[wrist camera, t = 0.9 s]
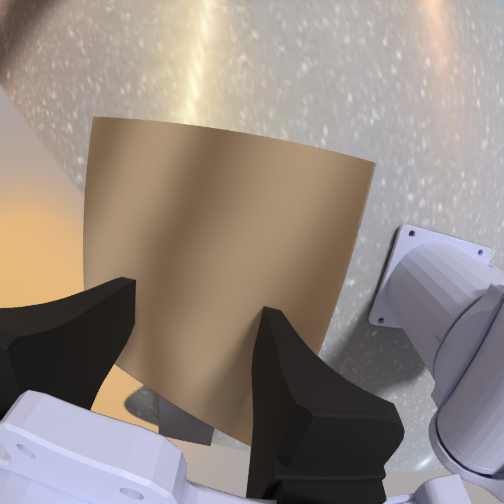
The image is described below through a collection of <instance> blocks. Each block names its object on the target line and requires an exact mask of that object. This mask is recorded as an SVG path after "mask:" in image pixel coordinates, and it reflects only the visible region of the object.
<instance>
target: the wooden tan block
mask: <svg viewBox="0 0 504 504" xmlns="http://www.w3.org/2000/svg"><path fill="white" fill-rule="evenodd" d="M375 166H376V163H374V162H371V161H367V160H363V159H360V158H356V157H352V156H348V155H344V154H341V153H337V152H333V151H328V150H324V149H320V148H316V147H311V146H307V145H302V144H298V143H293V142H288V141H284V140H279V139H274V138H268V137H263V136H258V135H252V134H247V133H241V132H235V131H229V130H222V129H215V128H209V127H201V126H194V125H186V124H178V123H169V122H159V121H149V120H138V119H125V118H109V117H93V123H92V130H91V137H90V145H89V154H88V163H87V174H86V187H85V203H84V228H83V230H84V231H83V270H84V272H83V273H84V291H86V290H88V289H91V288H93V287H96V286H98V285H101V284H103V283H105V282H108V281H110V280H113V279H116V278H119V277H126V278H130V279H134V280H136V302H135V325H134V328H133V330H132V333H131V335H130V337H129V339H128V342H127V344H126V345H125V347H124V349H123V350H122V352H121V354H120V355H119V357H118V359H117V360H116V362H115V363H114V364H115V365H117V366H118V367H119V368H121V369H122V370H124V371H125V372H127V373H128V374H129V375H131V376H132V377H133V378H135V379H136V380H138V381H139V382H141V383H142V384H144V385H145V386H147V387H148V388H150V389H151V390H153V391H154V392H156V393H157V394H159V395H160V396H162V397H163V398H165V399H167V400H168V401H170V402H171V403H173V404H175V405H176V406H178V407H179V408H181V409H183V410H184V411H186V412H188V413H189V414H191V415H193V416H195V417H196V418H198V419H200V420H201V421H203V422H205V423H207V424H209V425H210V426H212V427H214V428H216V429H218V430H220V431H221V432H223V433H225V434H227V435H229V436H231V437H233V438H235V439H237V440H239V441H241V442H243V443H245V444H247V445H249V446H251V444H252V431H253V400H252V374H251V368H252V358H253V349H254V345H255V341H256V337H257V333H258V329H259V325H260V321H261V316H262V312H263V308H264V306H266V307H270V308H274V309H278V310H281V311H282V312H283V314H284V315H285V316H286V318H287V319H288V321H289V322H290V324H291V325H292V327H293V328H294V329H295V331H296V332H297V333H298V335H299V336H300V337H301V339H302V340H303V341H304V342H305V343H306V344H307V346H308V347H309V348H310V349H311V350H312V351H313V352H314V353H315V354H316V355H317V356H318V355H319V352H320V349H321V346H322V344H323V341H324V338H325V335H326V333H327V330H328V327H329V324H330V321H331V318H332V316H333V313H334V310H335V307H336V304H337V301H338V298H339V295H340V292H341V289H342V285H343V282H344V279H345V276H346V273H347V270H348V266H349V263H350V260H351V256H352V253H353V250H354V246H355V243H356V239H357V236H358V232H359V229H360V225H361V221H362V218H363V214H364V210H365V206H366V203H367V199H368V195H369V191H370V187H371V183H372V178H373V174H374V170H375Z"/></svg>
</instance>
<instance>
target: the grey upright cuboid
mask: <svg viewBox="0 0 504 504" xmlns="http://www.w3.org/2000/svg"><path fill="white" fill-rule="evenodd" d="M213 430H214V427H212V426H210V425H209V424H207V423H205V422H203V421H201V420H200V419H198V418H196V417H195V416H193V415H191V414H189V413H188V412H186V411H184V410H183V409H181V408H179V407H178V406H176V405H175V404H173V403H171V402H170V401H168V400H167V399H165V398H163V397H162V396H160V395H159V434H161V435H163V436H165V437H169V438H174V439H178V440H182V441H187V442H192V443H197V444H202V445H208V446H210V445H211V440H212V435H213Z"/></svg>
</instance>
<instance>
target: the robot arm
mask: <svg viewBox="0 0 504 504" xmlns="http://www.w3.org/2000/svg"><path fill="white" fill-rule="evenodd" d="M411 230H413V234H412V235H411V236H409V232H410V231H411ZM479 250H480V253H479V254H478V252H479ZM491 257H492V250H491V249H489V248H487V247H484V246H481V245H477V244H474V243H471V242H467V241H464V240H461V239H457V238H454V237H451V236H447V235H444V234H440V233H437V232H433V231H429V230H426V229H422V228H419V227H415V226H411V225H407V224H403V225H401V226H400V227H399V229H398V233H397V236H396V239H395V242H394V246H393V249H392V252H391V255H390V258H389V261H388V264H387V267H386V270H385V273H384V276H383V279H382V282H381V285H380V288H379V290H378V293H377V296H376V299H375V301H374V304H373V307H372V309H371V312H370V315H369V318H368V319H369V322H370V323H371V324H372V325H377V326H385V327H393V328H401V329H403V330H404V332H405V333H406V335H407V336H408V338H409V340H410V341H411V343H412V344H413V346H414V348H415V349H416V351H417V352H418V354H419V356H420V357H421V359H422V360H423V362H424V364H425V365H426V367H427V369H428V370H429V372H430V374H431V375H432V377H433V379H434V380H435V387H434V390H433V392H432V394H431V397H432V398H433V400H434V402H435V404H436V406H437V408H438V410H437V411H436V413H435V414H434V416H433V417H432V419H431V421H430V424H429V439H430V443H431V446H432V448H433V451H434V453H435V454H436V456H437V458H438V459H439V461H440V462H441V463H442V465H443V466H444V467H445V468H446V469H447V470H448V471H450V472H451V473H452V474H453V475H448V476H443V477H437V478H433V479H430V480H428V481H426V482H424V483H423V484H422V485H421V486H420V487H419V488H418V489H417V490H416V491H415V493H412V494H405V495H399V496H392V497H386V495H385V491H384V487H383V483H382V480H383V479H384V478H385V476H386V473H385V470H384V465H385V463H386V462H387V461H388V460H389V458H390V457H391V456H392V455H393V453H394V452H395V451H396V450H397V448H398V447H399V445H400V444H401V442H402V440H403V438H404V433H405V431H404V427H403V424H402V422H401V419H400V416H399V414H398V412H397V410H396V407H395V405H394V404H393V403H391V402H389V401H386V400H384V399H382V398H380V397H377V396H375V395H373V394H371V393H369V392H367V391H365V390H363V389H361V388H360V387H358V386H356V385H354V384H353V383H351V382H350V381H348V380H346V379H345V378H344V377H342V376H341V375H339V374H338V373H337V372H335V371H334V370H333V369H331V368H330V367H329V366H328V365H327V364H326V363H324V362H323V361H322V360H321V359H320V358H319V357H318V356H317V355H316V354H315V353H314V352H313V351H312V350H311V349H310V348H309V347H308V346H307V344H306V343H305V342H304V341H303V340H302V339H301V337H300V336H299V335H298V333H297V332H296V331H295V329H294V328H293V327H292V325H291V324H290V322H289V321H288V319H287V318H286V316H285V315H284V314H283V312H282V311H281V310H278V309H274V308H270V307H266V306H264V308H263V312H262V316H261V321H260V325H259V329H258V333H257V337H256V341H255V345H254V349H253V358H252V368H251V374H252V400H253V431H252V444H251V455H250V465H249V475H248V483H247V492H246V498H244V497H240V496H236V495H233V494H229V493H226V492H222V491H219V490H216V489H213V488H210V487H206V486H203V485H201V484H198V483H195V482H192V481H189V480H187V479H186V469H187V463H186V460H185V458H184V456H183V453H182V451H181V450H180V449H179V448H178V447H177V446H175V445H174V444H173V443H172V442H170V441H169V440H168V439H167V438H165V437H164V436H163V435H161V434H158V433H156V432H153V431H151V430H148V429H146V428H144V427H141V426H138V425H134V424H131V423H128V422H124V421H121V420H118V419H114V418H111V417H108V416H105V415H102V414H99V413H96V412H93V411H90V410H91V407H92V405H93V402H94V400H95V398H96V395H97V393H98V391H99V389H100V387H101V385H102V383H103V381H104V379H105V378H106V376H107V375H108V373H109V371H110V370H111V368H112V366H113V365H114V363H115V362H116V360H117V359H118V357H119V355H120V354H121V352H122V350H123V349H124V347H125V345H126V344H127V342H128V339H129V337H130V335H131V333H132V330H133V328H134V325H135V302H136V280H134V279H130V278H126V277H119V278H116V279H113V280H110V281H108V282H105V283H103V284H101V285H98V286H96V287H93V288H91V289H88V290H86V291H83V292H80V293H77V294H74V295H72V296H69V297H66V298H63V299H59V300H56V301H52V302H48V303H43V304H38V305H31V306H25V307H17V308H16V307H15V308H0V504H471V502H470V500H469V497H468V495H467V493H466V490H465V488H464V485H463V483H462V481H461V479H462V480H465V481H468V482H471V483H473V484H476V485H478V486H481V487H483V488H484V489H486V490H487V491H489V492H490V493H491V494H492V495H494V496H495V497H496V498H497V499H498V500H499V501H500V502H502V503H504V272H503V271H501V270H500V269H498V268H497V267H495V266H494V265H492V264H491V263H489V262H490V260H491ZM380 318H383V319H382V320H381V321H378V320H379V319H380Z"/></svg>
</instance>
